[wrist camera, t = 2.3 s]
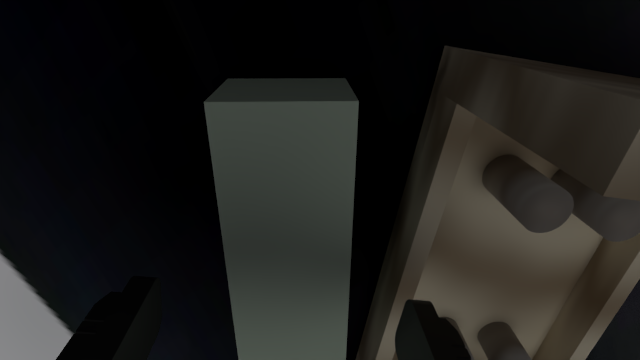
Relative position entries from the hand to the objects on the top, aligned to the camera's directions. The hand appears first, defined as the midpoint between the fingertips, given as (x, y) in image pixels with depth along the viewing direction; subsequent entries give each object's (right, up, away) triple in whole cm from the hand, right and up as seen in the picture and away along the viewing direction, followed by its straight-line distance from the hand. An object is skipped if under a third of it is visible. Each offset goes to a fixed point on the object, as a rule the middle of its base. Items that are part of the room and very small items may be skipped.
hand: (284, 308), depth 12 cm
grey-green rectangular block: (0, +3, +5) cm, 6 cm away
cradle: (+10, +1, +6) cm, 11 cm away
